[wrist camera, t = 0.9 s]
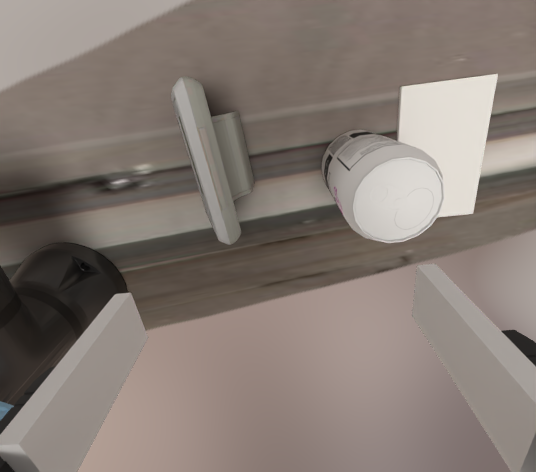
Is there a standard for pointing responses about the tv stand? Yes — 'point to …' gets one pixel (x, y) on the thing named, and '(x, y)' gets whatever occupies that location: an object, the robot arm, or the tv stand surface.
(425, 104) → the mat
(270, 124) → the tv stand surface
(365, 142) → the supplement can
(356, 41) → the tv stand surface
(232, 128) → the digital clock
